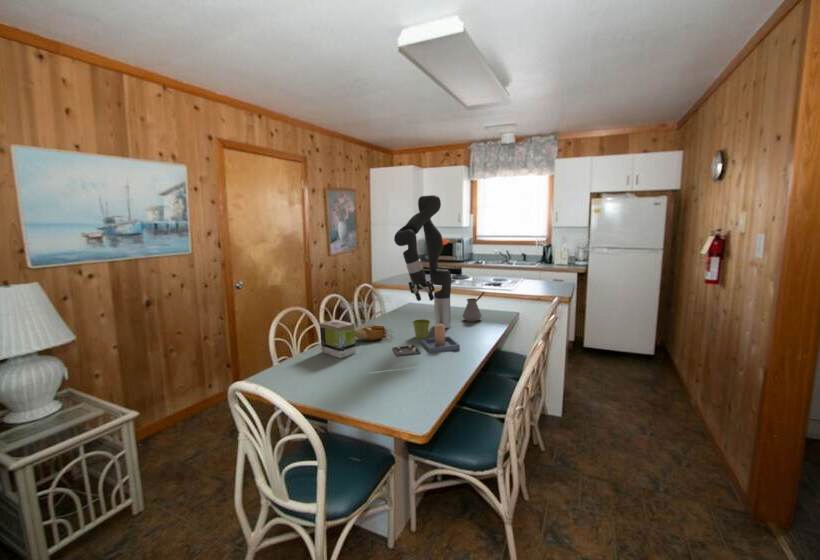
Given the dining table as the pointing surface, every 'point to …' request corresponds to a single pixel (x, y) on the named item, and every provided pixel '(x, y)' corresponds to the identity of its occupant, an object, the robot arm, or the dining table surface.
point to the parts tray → (406, 350)
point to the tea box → (338, 338)
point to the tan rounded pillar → (439, 335)
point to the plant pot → (421, 328)
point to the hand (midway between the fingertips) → (425, 300)
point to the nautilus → (372, 332)
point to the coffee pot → (472, 310)
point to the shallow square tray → (449, 345)
